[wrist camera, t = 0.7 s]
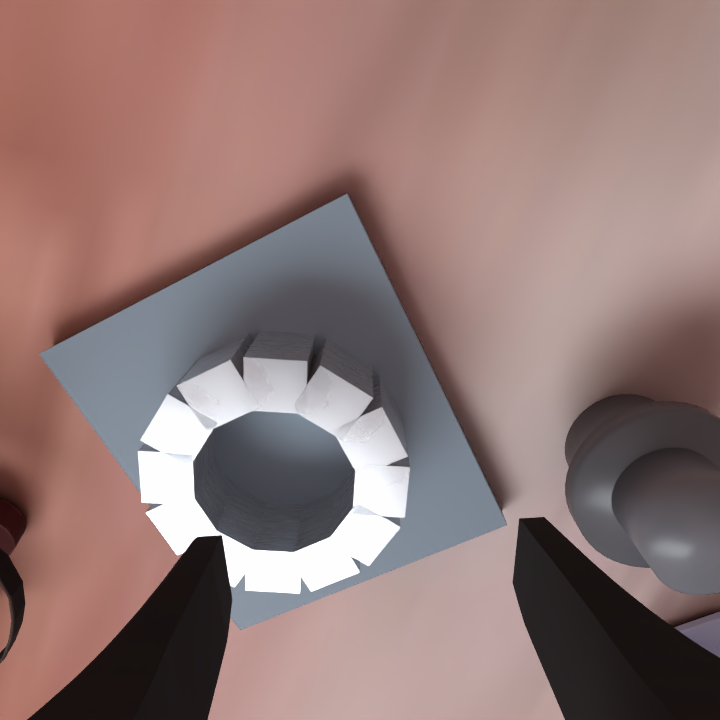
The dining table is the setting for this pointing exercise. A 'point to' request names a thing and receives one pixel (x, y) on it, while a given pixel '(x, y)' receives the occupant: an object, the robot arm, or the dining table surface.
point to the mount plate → (287, 430)
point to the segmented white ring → (274, 520)
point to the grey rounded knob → (649, 487)
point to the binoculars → (11, 568)
